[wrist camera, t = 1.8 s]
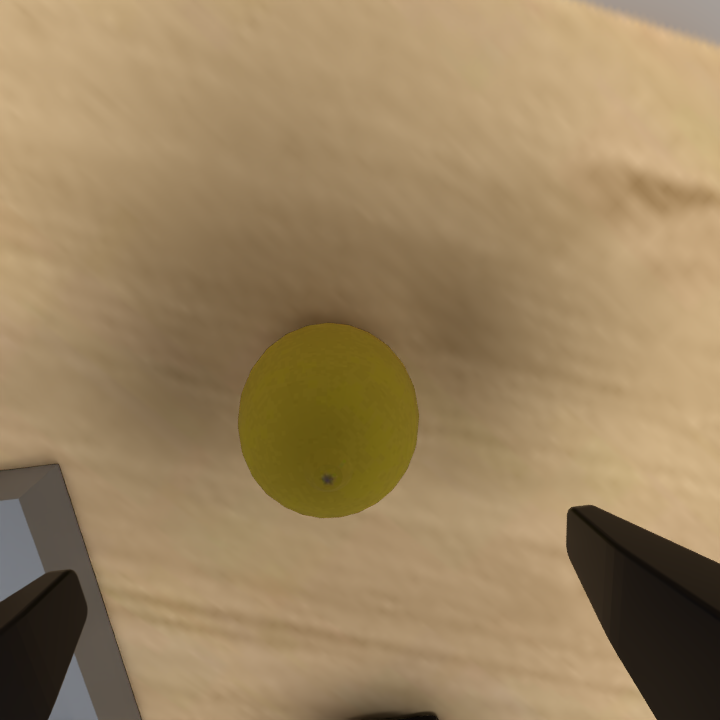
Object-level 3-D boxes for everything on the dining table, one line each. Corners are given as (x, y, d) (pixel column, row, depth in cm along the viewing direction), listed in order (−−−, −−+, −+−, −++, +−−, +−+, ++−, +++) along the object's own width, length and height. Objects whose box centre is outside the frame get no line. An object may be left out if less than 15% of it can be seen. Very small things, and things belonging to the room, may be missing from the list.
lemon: (231, 361, 18) (156, 461, 10) (344, 275, 17) (352, 316, 10) (318, 460, 20) (308, 613, 12) (426, 385, 19) (488, 496, 11)
